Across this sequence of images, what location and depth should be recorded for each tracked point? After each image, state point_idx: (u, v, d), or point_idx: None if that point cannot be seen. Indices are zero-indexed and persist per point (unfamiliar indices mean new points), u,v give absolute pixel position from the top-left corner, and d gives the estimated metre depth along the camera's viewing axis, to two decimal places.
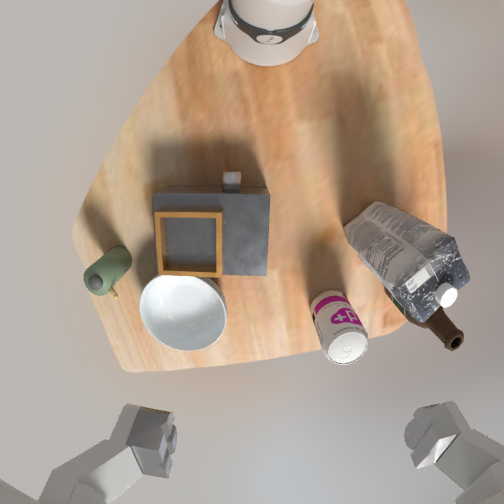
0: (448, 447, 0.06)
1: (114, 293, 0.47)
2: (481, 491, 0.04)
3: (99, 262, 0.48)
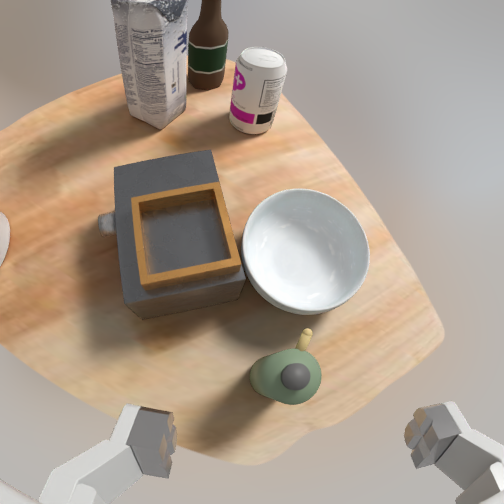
0: (448, 447, 0.06)
1: (302, 335, 0.28)
2: (481, 491, 0.04)
3: (262, 383, 0.28)
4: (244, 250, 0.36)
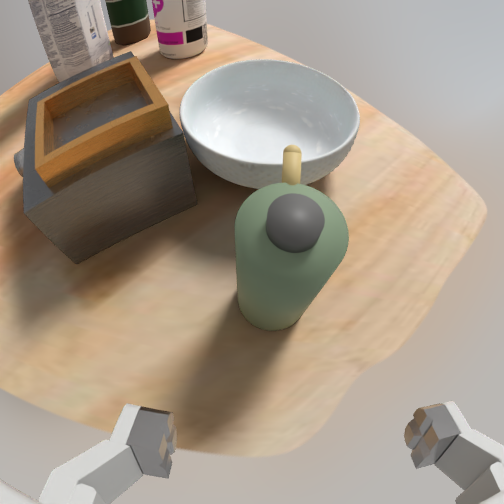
0: (448, 447, 0.06)
1: (284, 157, 0.15)
2: (481, 491, 0.04)
3: (241, 268, 0.15)
4: (183, 121, 0.24)
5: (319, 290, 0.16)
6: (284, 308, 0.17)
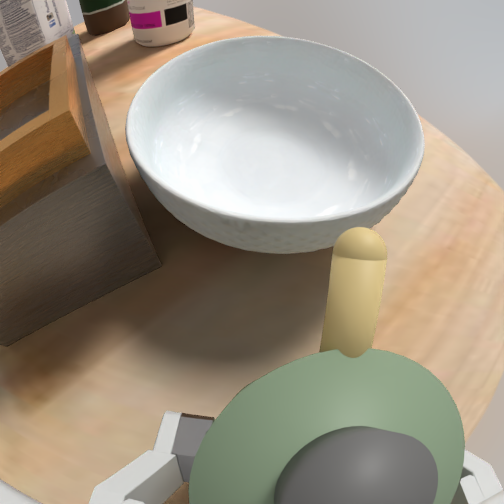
0: None
1: (339, 271, 0.05)
2: None
3: None
4: (129, 134, 0.13)
5: None
6: None
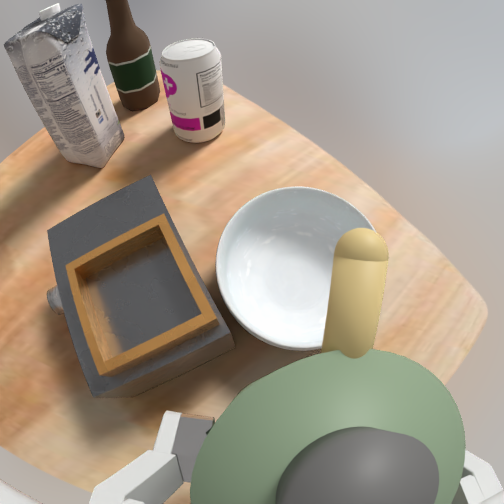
0: None
1: (340, 272, 0.05)
2: None
3: None
4: (222, 290, 0.27)
5: None
6: None
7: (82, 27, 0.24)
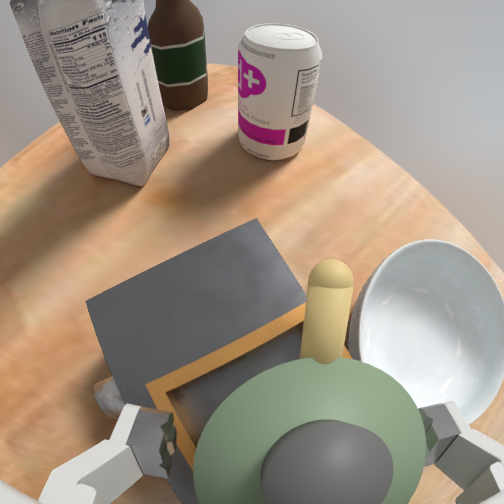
0: (448, 447, 0.06)
1: (312, 296, 0.06)
2: (481, 491, 0.04)
3: None
4: None
5: None
6: None
7: None
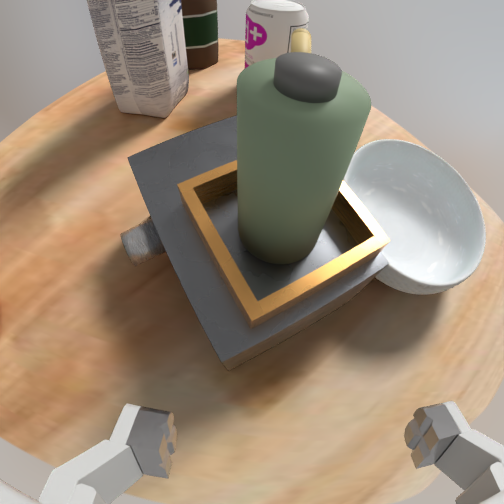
0: (448, 447, 0.06)
1: (293, 37, 0.12)
2: (481, 491, 0.04)
3: (243, 136, 0.12)
4: None
5: (339, 174, 0.13)
6: (296, 199, 0.13)
7: None
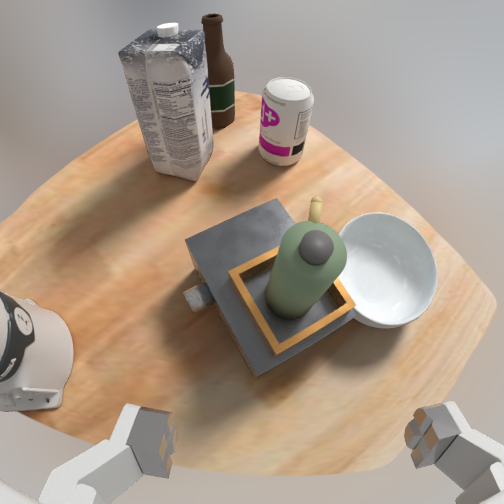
0: (448, 447, 0.06)
1: (311, 204, 0.25)
2: (481, 491, 0.04)
3: (280, 272, 0.25)
4: None
5: (326, 289, 0.26)
6: (303, 300, 0.26)
7: (204, 54, 0.33)
